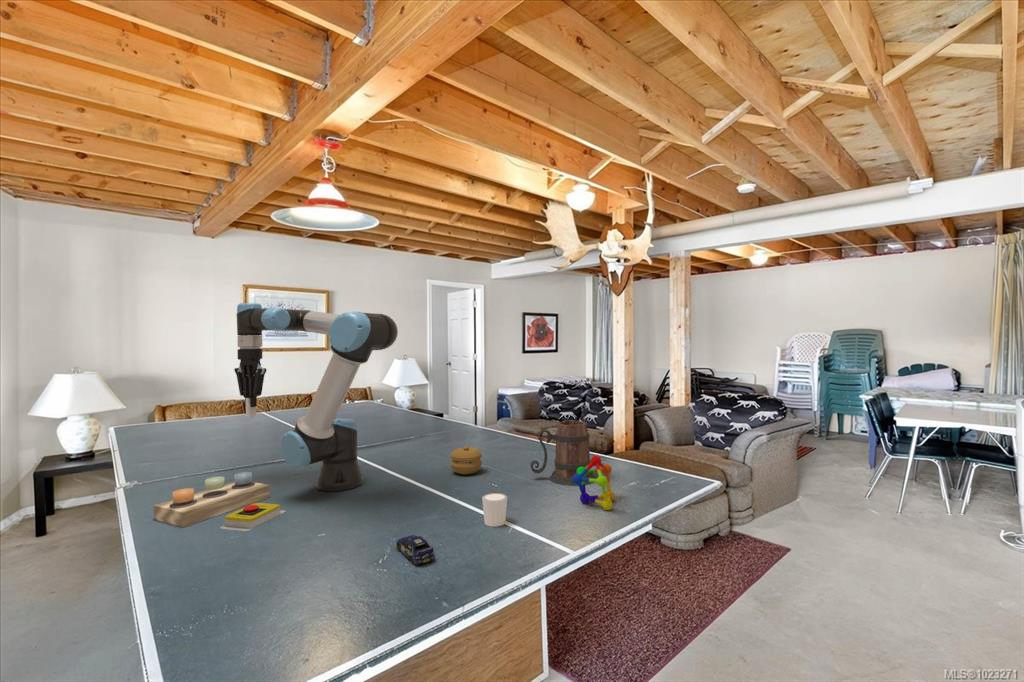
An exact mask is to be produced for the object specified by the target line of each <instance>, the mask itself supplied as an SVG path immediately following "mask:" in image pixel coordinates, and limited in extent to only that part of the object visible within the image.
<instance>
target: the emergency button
mask: <svg viewBox="0 0 1024 682" xmlns="http://www.w3.org/2000/svg"><path fill="white" fill-rule="evenodd" d="M285 513H286V510H284V509H281V506H280V504H278V503H277V504H275V503H265V502H264V503H262V502H255V503H252V504H250V505H247V506H244V507H241V509H240V508H239V509H237V510H236V511H235V510H234V511H233V512H231V513H229V514H226V515H225V516H224V525H222V526H220V527H219V529H220V530H226V531H227V530H228V531H236V532H249V531H251V530H254V529H255V528H257V527H259V526H262V525H263V524H265V523H267V522H269V521H271V520H273V519H275V518H277V517H279V516H281V515H284V514H285Z"/></svg>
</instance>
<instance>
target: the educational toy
mask: <svg viewBox="0 0 1024 682" xmlns="http://www.w3.org/2000/svg"><path fill="white" fill-rule="evenodd" d="M590 460H591V463H590V464H588V465H587V466H586V467H579V468H578V469H577V474H575V475H574V476H573V482H574V483H575V484H577V485H578V486H577V487H579V488H578V489H579V491H580V493H581V494H580V495H579V501H580V502H581V503H582V504H588V503H590V502H591V503H594V504H598V505H600V506H601V507H602V509H604V510H605V511H610V510H612V508H613V501H614V499H615V493H614V491H612V489H611V484H610V480H611V479H610V476H609V475H610V474H611V473H612V471H613V470H612V467H611V465H610V464H607V463H605V464H603V463H602V458H601V457H600V456H599V455H596V454H595V455H593V456H591V457H590ZM593 467H596V468H593ZM586 473H597V475H598V477H596V478H597V479H592V478H584V476H585V475H586ZM603 474H604V475H603ZM585 482H595V484H597V486H598V487H601V492H602V494H598V495H597V494H596V495H590V494H589V493H587V491H586V489H587V488H586V485H585ZM598 499H600V500H598ZM601 499H603V500H601Z"/></svg>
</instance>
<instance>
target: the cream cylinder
mask: <svg viewBox="0 0 1024 682" xmlns="http://www.w3.org/2000/svg"><path fill="white" fill-rule="evenodd" d="M481 499H482V510H483V520H484V525H486V526H488V527H494V528H495V527H502V526H503V525H505V524H506V518H507V507H508V506H507V505H508V496H507V495H506V494H505V493H504V494H503V493H501V492H500V493H498V492H497V493H496V492H494V493H488V494H484V495H483V496H482V497H481Z"/></svg>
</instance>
